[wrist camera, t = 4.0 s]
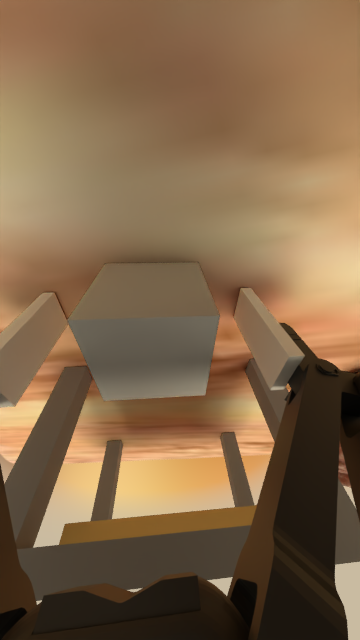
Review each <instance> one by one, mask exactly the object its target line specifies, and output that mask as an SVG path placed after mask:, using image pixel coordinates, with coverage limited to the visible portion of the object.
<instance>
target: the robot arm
mask: <svg viewBox="0 0 360 640" xmlns="http://www.w3.org/2000/svg"><path fill="white" fill-rule="evenodd" d="M234 320H235V322H236V324H237V326H238V328H239V330H240V332H241V333H242V335H243V337H244V339H245V341H246V343H247V345H248V347H249V349H250V351H251V353H252V355H253V357H254V359H255V361H256V363H257V365H258V367H259V369H260V371H261V373H262V375H263V377H264V379H265V381H266V383H267V385H268V387H269V389H270V390H283V389H284V388H285V387H286V385H287V383H288V384H289V385H290V387H291V391H290V392H289V394H288V395H287V396H286V398H285V399H284V400H285V401H287V402H286V405H285V409H284V412H283V416H282V419H281V423H280V426H279V430H278V433H277V437H276V440H275V444H274V447H273V451H272V454H271V458H270V461H269V465H268V468H267V472H266V476H265V479H264V482H263V486H262V490H261V493H260V497H259V500H258V504H257V507H256V510H255V514H254V517H253V521H252V524H251V528H250V531H249V535H248V538H247V540H246V543H245V544H244V546H243V548H242V550H241V553H240V555H239V558H238V561H237V565H236V568H235V571H234V575H233V578H232V582H231V585H230V588H229V592H228V595H227V596H226V595H225V594H224V593H223V592H222V591H221V590H220V589H218V588H217V587H216V586H215V585H213V584H212V583H210V582H209V581H207V580H205V579H203V578H202V577H199V576H198V575H196V574H195V573H193V572H187V573H179V574H172V575H165V576H163V577H161V578H160V579H158V580H156V581H154V582H153V583H151V584H149V585H148V586H146V587H144V588H142V589H141V590H139V591H137V592H130V591H127V590H124V589H122V588H119V587H116V586H113V585H110V584H107V583H102V584H95V585H87V586H79V587H74V588H70V589H66V590H63V591H59V592H55V593H51V594H47V595H44V596H43V599H42V602H41V603H40V604H38V605H37V604H36V599H35V594H34V590H33V586H32V583H31V581H30V579H29V577H28V575H27V574H26V573H25V572H24V571H23V569H22V568H21V566H20V563H19V559H18V554H17V548H16V543H15V538H14V533H13V528H12V522H11V517H10V512H9V507H8V502H7V496H6V491H5V486H4V481H3V476H2V470H1V465H0V640H348V629H347V619H346V615H345V610H344V606H343V603H342V601H341V599H340V597H339V595H338V593H337V591H336V586H335V550H336V523H337V497H338V471H339V445H340V444H341V448H342V452H343V456H344V460H345V464H346V468H347V472H348V477H349V481H350V485H351V489H352V493H353V497H354V501H355V505H356V510H357V514H358V518H359V522H360V371H359V372H358V373H357V374H355V373H350V372H345V371H340V370H339V369H338V368H337V367H336V366H335V365H334V364H332V363H330V362H328V361H327V360H323V359H318V358H317V356H316V355H315V354H314V353H313V352H312V351H311V349H310V348H309V347H308V346H307V345H306V344H305V343H304V341H303V340H301V338H300V337H299V336H298V335H297V333H296V332H295V331H294V330H293V329H292V328H291V327H290V326H288V325H287V324H285V323H278V321H277V320H276V319H275V318H274V316H273V315H272V314H271V313H270V311H269V310H268V309H267V308H266V306H265V305H264V304H263V303H262V301H261V300H260V299H259V298H258V296H257V295H256V294H255V293H254V291H253V290H252V289H251V288H241V289H240V293H239V297H238V301H237V305H236V310H235V314H234ZM67 325H68V322H67V320H66V317H65V315H64V313H63V311H62V309H61V306H60V304H59V302H58V300H57V298H56V295H55V293H42V294H41V295H40V296H39V297H38V298H37V299H36V300H35V301H34V302H33V303H31V304H30V305H29V306H28V307H27V308H26V309H25V310H24V311H23V312H22V313H21V314H20V315H19V316H18V317H17V318H16V319H15V320H14V321H13V322H12V323H11V324H10V325H9V326H8V327H7V328H5V329H4V330H3V331H2V332H1V333H0V407H15V406H16V404H17V403H18V401H19V399H20V398H21V396H22V395H23V393H24V392H25V390H26V389H27V387H28V385H29V384H30V382H31V381H32V379H33V378H34V376H35V375H36V373H37V371H38V370H39V368H40V367H41V365H42V364H43V362H44V361H45V359H46V358H47V356H48V354H49V353H50V351H51V350H52V348H53V347H54V345H55V344H56V342H57V340H58V339H59V337H60V336H61V334H62V333H63V331H64V330H65V328H66V326H67Z"/></svg>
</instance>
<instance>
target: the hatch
mask: <svg viewBox="0 0 360 640" xmlns="http://www.w3.org/2000/svg"><path fill="white" fill-rule="evenodd" d="M256 507H257V505H254V506H244V507H234V508H223V509H213V510H203V511H192V512H183V513H173V514H162V515H151V516H141V517H131V518H121V519H110V520H100V521H90V522H79V523H69V524H65V526H64V529H63V533H62V536H61V540H60V543H59V545H64V544H74V543H84V542H93V541H103V540H113V539H122V538H132V537H141V536H151V535H161V534H170V533H180V532H189V531H199V530H209V529H218V528H228V527H237V526H247V525H251V524H252V521H253V517H254V514H255V510H256Z"/></svg>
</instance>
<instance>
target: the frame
mask: <svg viewBox="0 0 360 640" xmlns="http://www.w3.org/2000/svg"><path fill="white" fill-rule="evenodd" d="M245 372H246V374H247V377H248V379H249V382H250V384H251V386H252V389H253V391H254V394H255V396H256V398H257V401H258V403H259V406H260V408H261V410H262V413H263V415H264V418H265V420H266V422H267V425H268V427H269V430H270V432H271V434H272V437H273V439H274V442H275V440H276V437H277V433H278V430H279V426H280V423H281V419H282V416H283V412H284V409H285V405H286V402H287V401H285V400H284V399H285V398H286V396H287V395H288V394H289V392H288V390H287V389H286V387H285V388H284V389H283V390H270V389H269V387H268V385H267V383H266V381H265V379H264V377H263V375H262V373H261V371H260V369H259V367H258V365H257V363H256V361H255V359H250V360H249V363H248V365H247V368H246V371H245ZM91 381H92V377H91V375H90V373H89V371H88V368H87V366H85V367H65V368H64V370H63V372H62V374H61V376H60V378H59V380H58V382H57V384H56V385H55V387H54V389H53V391H52V393H51V395H50V397H49V399H48V401H47V403H46V405H45V407H44V409H43V411H42V413H41V414H40V416H39V418H38V420H37V422H36V424H35V426H34V428H33V430H32V432H31V434H30V436H29V438H28V440H27V441H26V443H25V445H24V447H23V449H22V451H21V453H20V455H19V457H18V459H17V461H16V463H15V465H14V467H13V469H12V470H11V472H10V474H9V476H8V478H7V480H6V482H5V484H4V486H5V491H6V496H7V502H8V507H9V512H10V517H11V522H12V528H13V533H14V538H15V543H16V548H17V554H18V559H19V563H20V566H21V568H22V569H23V571H24V572H25V573H26V574H27V575H28V577H29V579H30V581H31V583H32V586H33V590H34V594H35V599H36V601H39V600H42V599H43V596H44V595H47V594H51V593H55V592H59V591H63V590H66V589H70V588H74V587H79V586H87V585H95V584H102V583H107V584H110V585H113V586H116V587H119V588H122V589H124V590H130V589H138V588H144V587H146V586H148V585H149V584H151V583H153V582H154V581H156V580H158V579H160V578H161V577H163V576H165V575H172V574H179V573H187V572H193V573H195V574H196V575H198V576H199V577H202V578H203V579H205V580H212V579H220V578H228V577H233V575H234V571H235V568H236V565H237V561H238V558H239V555H240V553H241V550H242V548H243V546H244V544H245V543H246V540H247V538H248V535H249V531H250V528H251V525H247V526H237V527H228V528H218V529H209V530H199V531H189V532H180V533H170V534H161V535H151V536H141V537H132V538H122V539H113V540H103V541H93V542H84V543H74V544H64V545H55V546H45V547H36V548H33V546H34V543H35V540H36V537H37V534H38V532H39V529H40V526H41V523H42V520H43V517H44V515H45V512H46V509H47V506H48V503H49V500H50V498H51V495H52V492H53V489H54V486H55V483H56V481H57V478H58V475H59V472H60V469H61V466H62V464H63V461H64V458H65V455H66V452H67V449H68V447H69V444H70V441H71V438H72V435H73V432H74V430H75V427H76V424H77V421H78V418H79V415H80V413H81V410H82V407H83V404H84V401H85V398H86V396H87V393H88V390H89V387H90V384H91ZM220 439H221V444H222V448H223V453H224V458H225V462H226V467H227V471H228V476H229V481H230V485H231V490H232V495H233V499H234V504H235V507H244V506H254V502H253V498H252V495H251V491H250V487H249V484H248V480H247V476H246V473H245V469H244V466H243V462H242V458H241V455H240V451H239V447H238V444H237V440H236V436H235V433H234V432H231V433H222V435H221V438H220ZM122 448H123V444H122V442H121V440H118V441H107V446H106V451H105V456H104V460H103V465H102V470H101V474H100V479H99V484H98V489H97V493H96V498H95V503H94V507H93V512H92V517H91V521H100V520H110V519H112V513H113V508H114V501H115V494H116V488H117V481H118V475H119V468H120V461H121V455H122ZM359 561H360V522H359V518H358V514H357V510H356V508H355V506H354V505H353V503H352V501H351V499H350V498H349V496H348V495H347V492H346V491H345V489H344V487H343V485H342V484H341V482H340V480H339V479H338V497H337V523H336V550H335V564H343V563H351V562H359Z"/></svg>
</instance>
